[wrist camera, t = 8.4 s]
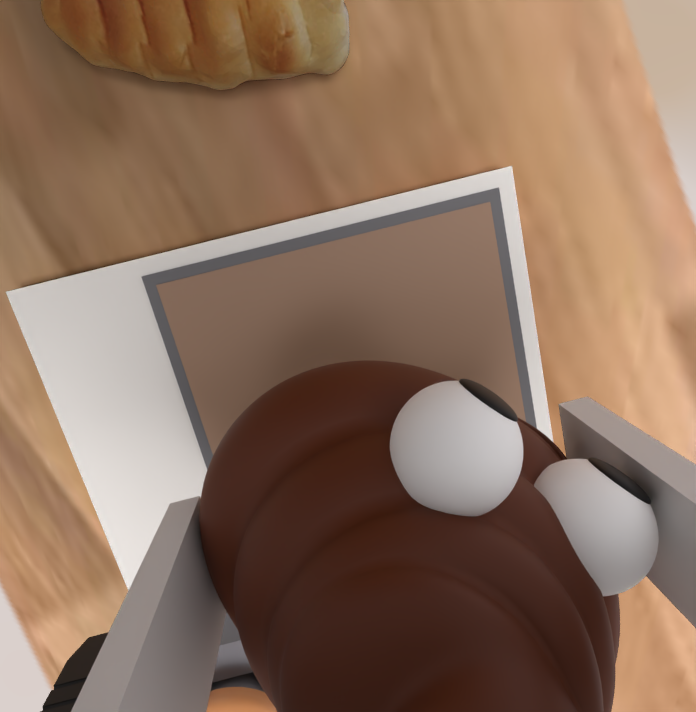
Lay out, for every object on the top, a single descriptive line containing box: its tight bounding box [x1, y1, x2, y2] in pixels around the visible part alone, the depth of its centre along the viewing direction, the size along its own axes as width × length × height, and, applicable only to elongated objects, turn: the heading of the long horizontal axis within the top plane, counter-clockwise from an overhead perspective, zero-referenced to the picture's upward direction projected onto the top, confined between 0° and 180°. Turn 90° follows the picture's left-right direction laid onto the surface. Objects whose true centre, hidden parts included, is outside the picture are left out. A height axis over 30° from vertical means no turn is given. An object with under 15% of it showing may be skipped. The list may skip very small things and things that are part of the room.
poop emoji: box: [199, 360, 659, 712], centre depth 10 cm, size 10×8×9 cm
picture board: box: [6, 166, 553, 683], centre depth 21 cm, size 20×18×4 cm
